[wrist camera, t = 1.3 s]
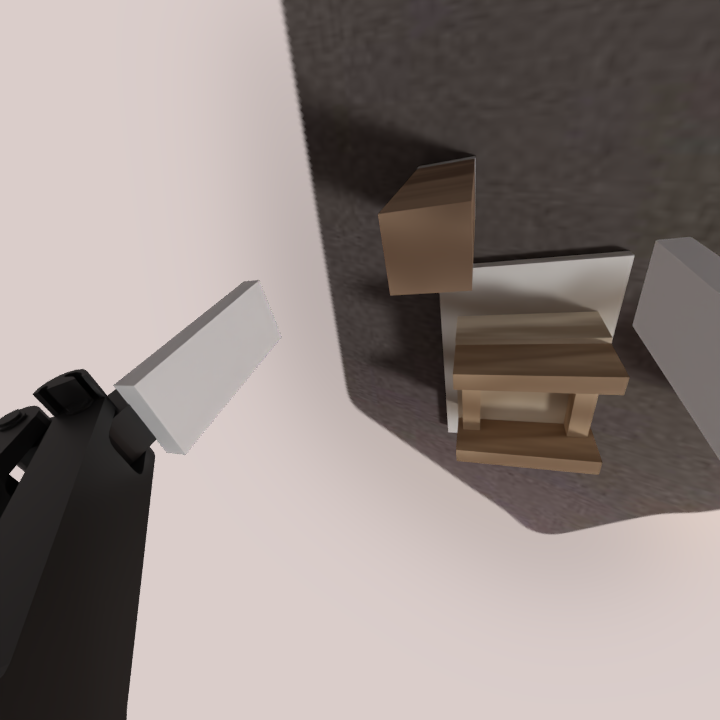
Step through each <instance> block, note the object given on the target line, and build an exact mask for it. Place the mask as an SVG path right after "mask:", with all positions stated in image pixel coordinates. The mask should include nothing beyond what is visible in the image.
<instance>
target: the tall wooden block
mask: <svg viewBox="0 0 720 720" xmlns="http://www.w3.org/2000/svg"><path fill="white" fill-rule="evenodd" d="M378 217H379V224H380V231H381V237H382V244H383V251H384V257H385V264H386V270H387V277H388V284H389V290H390V296H391V295H408V294H425V293H442V292H460V291H472V281H473V254H474V227H475V218H476V156H471V157H466V158H460V159H454V160H449V161H443V162H438V163H432V164H427V165H421V166H418V167H417V170H416V171H415V172H414V173H413V175H412V176H411V177H410V178H409V179H408V180H407V181H406V183H405V184H404V185H403V186H402V187H401V188H400V189H399V191H398V192H397V193H396V194H395V195H394V196H393V197H392V199H391V200H390V201H389V202H388V203H387V204H386V205H385V207H384V208H383V209H382V210H381V211H380V212H379V213H378Z"/></svg>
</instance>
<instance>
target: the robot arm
mask: <svg viewBox="0 0 720 720" xmlns="http://www.w3.org/2000/svg"><path fill="white" fill-rule="evenodd" d="M632 326H633V327H634V329H635V330H636V332H637V334H638V335H639V337H640V338H641V340H642V341H643V343H644V344H645V346H646V347H647V349H648V351H649V352H650V354H651V355H652V357H653V358H654V360H655V361H656V363H657V364H658V366H659V367H660V369H661V371H662V372H663V374H664V375H665V377H666V378H667V380H668V381H669V383H670V384H671V386H672V387H673V389H674V391H675V392H676V394H677V395H678V397H679V398H680V400H681V401H682V403H683V404H684V406H685V408H686V409H687V411H688V412H689V414H690V415H691V417H692V418H693V420H694V421H695V423H696V424H697V426H698V428H699V429H700V431H701V432H702V434H703V435H704V437H705V438H706V440H707V441H708V443H709V445H710V446H711V448H712V449H713V451H714V452H715V454H716V455H717V457H718V458H719V460H720V256H718V255H717V254H715V253H714V252H712V251H711V250H709V249H708V248H707V247H705V246H704V245H702V244H701V243H699V242H698V241H696V240H695V239H693V238H692V237H683V238H673V239H663V240H656V242H655V245H654V249H653V253H652V256H651V260H650V263H649V267H648V271H647V274H646V278H645V282H644V285H643V289H642V292H641V296H640V300H639V303H638V307H637V310H636V314H635V318H634V321H633V325H632ZM280 339H281V334H280V332H279V329H278V326H277V324H276V321H275V319H274V316H273V314H272V311H271V309H270V306H269V304H268V301H267V299H266V296H265V294H264V291H263V288H262V286H261V283H260V281H259V280H257V281H247V282H243V283H241V284H240V285H239V286H238V287H237V288H235V289H234V290H233V291H232V292H230V293H229V294H228V295H226V296H225V297H224V298H223V299H221V300H220V301H219V302H218V303H216V305H214V306H213V307H211V308H210V309H209V310H208V311H206V312H205V313H204V314H203V315H201V316H200V317H199V318H197V319H196V320H195V321H194V322H192V323H191V324H190V325H189V326H188V327H186V328H185V329H184V330H182V331H181V332H180V333H179V334H177V335H176V336H175V337H174V338H172V339H171V340H170V341H169V342H167V343H166V344H165V345H164V346H162V347H161V348H160V349H159V350H157V351H156V352H155V353H154V354H152V355H151V356H150V357H148V358H147V359H146V360H145V361H144V362H142V363H141V364H140V365H138V366H137V367H136V368H135V369H133V370H132V371H131V372H130V373H128V374H127V375H126V376H125V377H123V378H122V379H121V380H119V381H118V382H117V383H116V384H114V387H115V388H116V390H114V391H113V392H112V393H110V394H109V395H108V396H107V395H106V394H105V392H104V391H103V390H102V389H101V388H100V386H99V385H98V384H97V383H96V381H95V380H94V379H93V378H92V377H91V375H90V374H89V373H88V372H87V371H86V370H84V369H80V370H74V371H70V372H67V373H65V374H62V375H60V376H58V377H56V378H54V379H52V380H50V381H49V382H47V383H45V384H44V385H42V386H41V387H40V388H38V389H37V390H36V391H35V392H34V393H33V395H34V396H35V397H36V398H37V399H38V400H39V401H40V402H41V403H42V404H43V405H44V406H45V407H46V408H47V409H48V410H49V411H50V412H51V414H52V415H54V417H51V418H49V417H48V416H47V415H46V414H45V413H44V412H43V411H42V410H41V409H40V408H39V407H37V406H30V407H26V408H23V409H20V410H18V409H17V410H15V411H13V412H11V413H9V414H7V415H5V416H4V417H2V418H1V419H0V720H126V719H127V718H126V716H127V702H128V693H129V685H130V676H131V667H132V658H133V648H134V640H135V631H136V622H137V613H138V604H139V595H140V586H141V578H142V569H143V559H144V551H145V542H146V533H147V524H148V515H149V506H150V496H151V488H152V479H153V470H154V462H155V454H154V452H153V450H152V449H151V448H150V445H151V444H152V443H153V442H154V441H155V440H157V441H158V442H159V443H160V445H161V446H162V447H163V448H164V450H165V451H166V452H167V453H175V454H183V455H186V454H187V452H188V451H189V450H190V449H191V447H192V446H193V445H194V444H195V442H196V441H197V440H198V439H199V438H200V436H201V435H202V434H203V433H204V431H205V430H206V429H207V428H208V427H209V425H210V424H211V423H212V422H213V420H214V419H215V418H216V417H217V416H218V414H219V413H220V412H221V411H222V409H223V408H224V407H225V406H226V405H227V403H228V402H229V401H230V400H231V398H232V397H233V396H234V395H235V394H236V392H237V391H238V390H239V388H240V387H241V386H242V385H243V384H244V383H245V381H246V380H247V379H248V378H249V376H250V375H251V374H252V373H253V372H254V370H255V369H256V368H257V366H258V365H259V364H260V363H261V362H262V361H263V359H264V358H265V357H266V356H267V354H268V353H269V352H270V351H271V350H272V348H273V347H274V346H275V344H276V343H277V342H278V341H279V340H280ZM16 465H17V466H18V467H20V468H21V469H22V470H23V471H24V472H25V473H24V475H23V477H22V479H21V481H20V482H18V481H17V480H15V479H14V478H13V477H11V476H10V475H9V473H10V472H11V471H12V470H13V469H14V467H15V466H16Z"/></svg>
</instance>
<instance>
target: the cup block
mask: <svg viewBox="0 0 720 720" xmlns="http://www.w3.org/2000/svg"><path fill="white" fill-rule="evenodd" d="M634 256H635V255H634V254H633V253H632V252H631V251H620V252H608V253H596V254H584V255H572V256H560V257H547V258H535V259H523V260H511V261H499V262H487V263H475V264H473V281H472V291H460V292H442V293H440V309H441V325H442V340H443V356H444V372H445V388H446V403H447V419H448V432H454V433H457V446H456V455H457V461H464V462H474V463H484V464H494V465H505V466H515V467H525V468H535V469H546V470H556V471H566V472H577V473H587V474H597V475H599V471H600V468H601V465H602V460H601V457H600V454H599V451H598V448H597V445H596V442H595V439H594V437H593V434H592V431H591V428H590V425H591V421H592V418H593V414H594V410H595V406H596V403H597V399H598V395H599V394H605V395H624V393H625V390H626V387H627V384H628V381H629V378H630V377H629V376H628V374H627V372H626V370H625V368H624V366H623V364H622V363H621V361H620V359H619V357H618V355H617V353H616V351H615V350H614V348H613V346H612V344H611V343H612V339H613V335H614V331H615V328H616V324H617V320H618V316H619V313H620V309H621V305H622V301H623V297H624V294H625V290H626V286H627V282H628V278H629V275H630V271H631V267H632V263H633V259H634Z"/></svg>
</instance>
